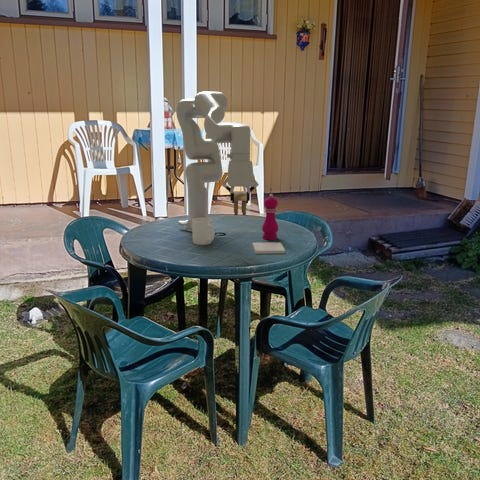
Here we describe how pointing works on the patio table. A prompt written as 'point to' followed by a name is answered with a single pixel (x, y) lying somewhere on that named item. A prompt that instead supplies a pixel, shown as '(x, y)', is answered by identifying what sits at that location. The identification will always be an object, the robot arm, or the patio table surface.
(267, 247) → the tile
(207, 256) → the patio table surface
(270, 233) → the pepper mill
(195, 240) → the cup
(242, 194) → the pegged wooden block
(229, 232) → the patio table surface
